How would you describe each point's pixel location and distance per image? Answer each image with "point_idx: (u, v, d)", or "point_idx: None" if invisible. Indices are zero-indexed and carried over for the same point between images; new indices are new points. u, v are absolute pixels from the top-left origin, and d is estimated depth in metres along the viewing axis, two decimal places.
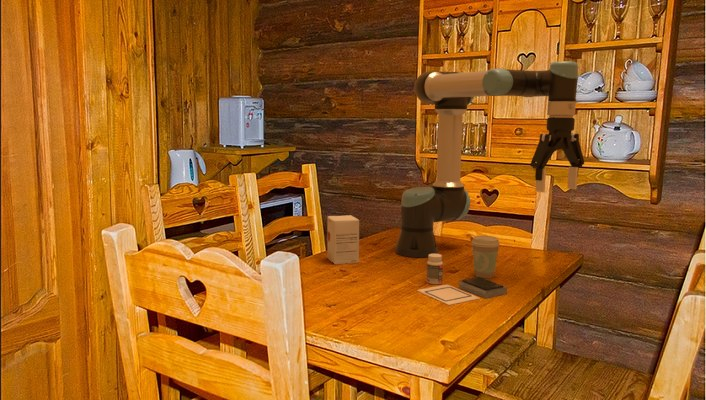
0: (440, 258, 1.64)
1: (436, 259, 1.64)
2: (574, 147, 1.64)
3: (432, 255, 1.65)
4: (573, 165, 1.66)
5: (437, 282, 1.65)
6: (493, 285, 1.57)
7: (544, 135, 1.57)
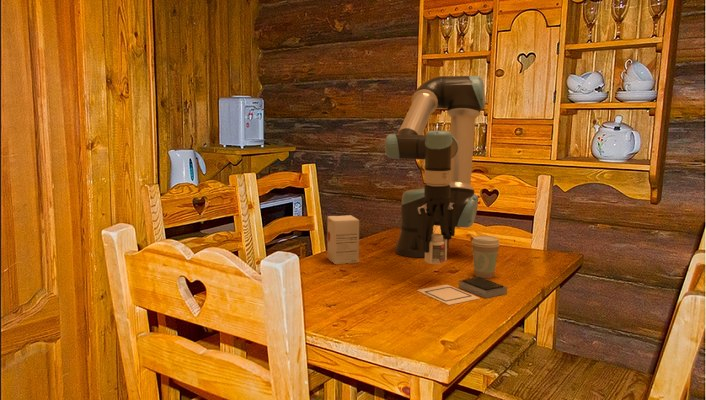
0: (441, 238, 1.64)
1: (437, 239, 1.63)
2: (449, 216, 1.67)
3: (433, 235, 1.65)
4: (443, 237, 1.67)
5: (438, 262, 1.64)
6: (493, 285, 1.57)
7: (419, 209, 1.60)
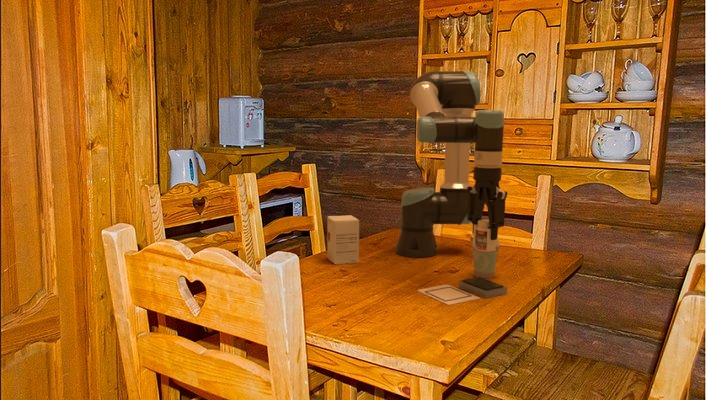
0: (481, 223, 1.55)
1: (478, 223, 1.56)
2: None
3: (483, 220, 1.57)
4: None
5: (476, 247, 1.57)
6: (493, 285, 1.57)
7: None
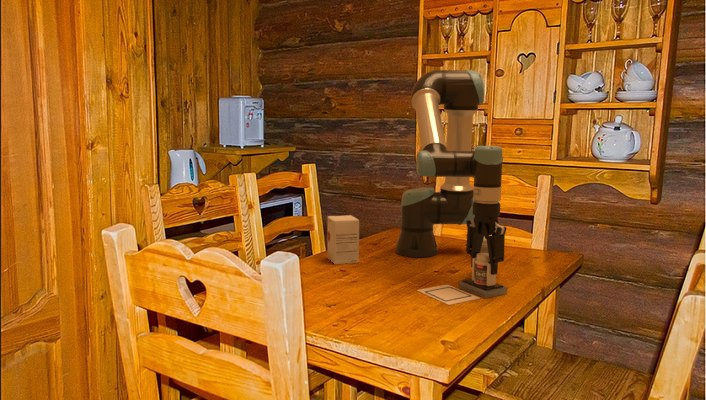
0: (480, 257, 1.56)
1: (477, 257, 1.57)
2: None
3: (481, 253, 1.58)
4: None
5: (474, 281, 1.58)
6: (493, 285, 1.57)
7: None
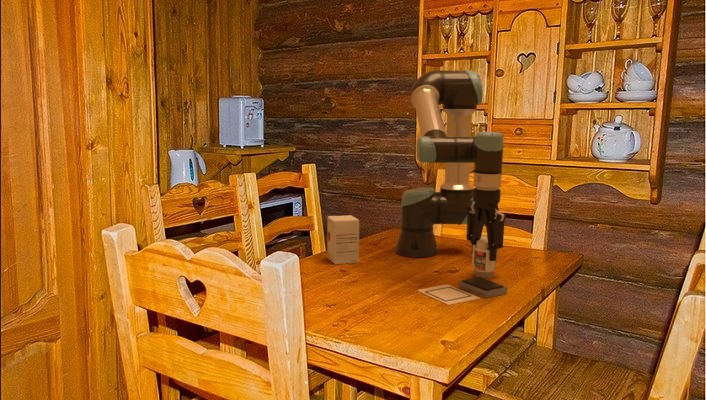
0: (480, 244, 1.56)
1: (477, 244, 1.57)
2: None
3: (481, 240, 1.58)
4: None
5: (474, 268, 1.58)
6: (493, 285, 1.57)
7: None
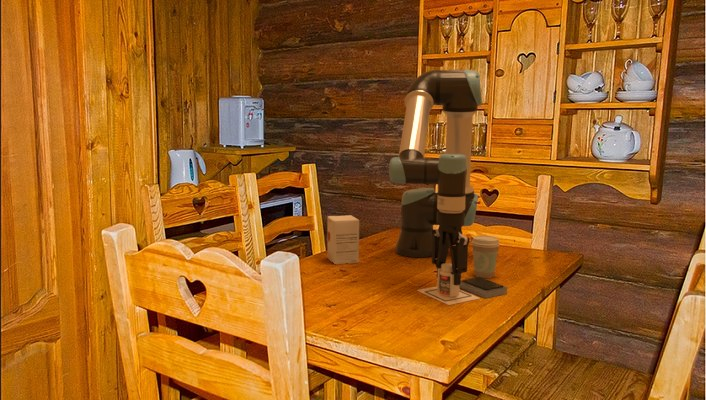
0: (444, 268, 1.53)
1: (441, 267, 1.54)
2: None
3: (446, 264, 1.55)
4: None
5: (439, 292, 1.55)
6: (493, 285, 1.57)
7: None
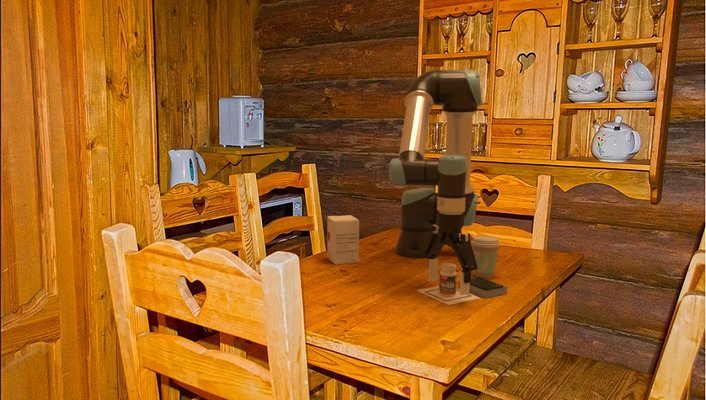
0: (444, 268, 1.53)
1: (441, 267, 1.54)
2: None
3: (446, 264, 1.55)
4: None
5: (439, 292, 1.55)
6: (493, 285, 1.57)
7: None
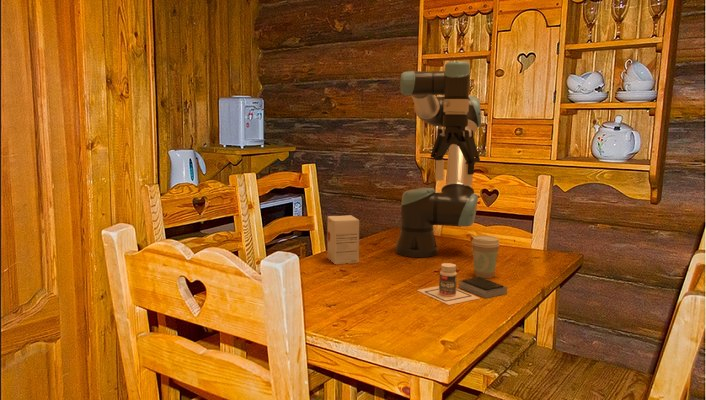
0: (444, 268, 1.53)
1: (441, 267, 1.54)
2: None
3: (446, 264, 1.55)
4: None
5: (439, 292, 1.55)
6: (493, 285, 1.57)
7: None
